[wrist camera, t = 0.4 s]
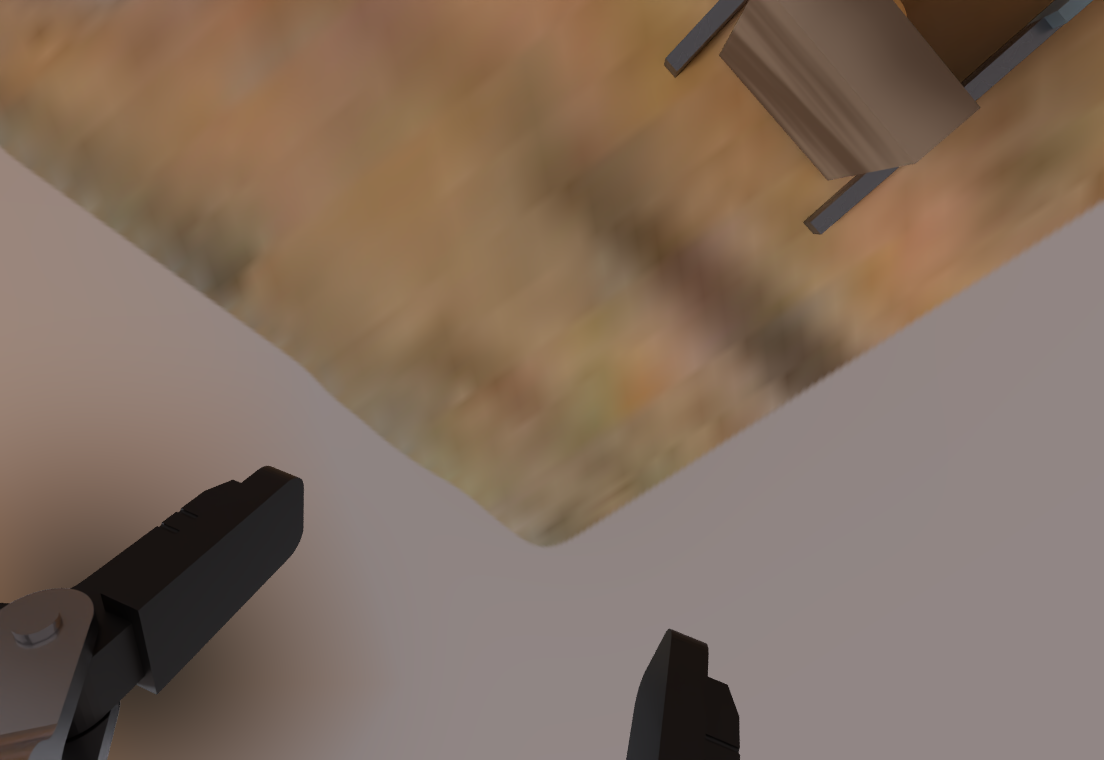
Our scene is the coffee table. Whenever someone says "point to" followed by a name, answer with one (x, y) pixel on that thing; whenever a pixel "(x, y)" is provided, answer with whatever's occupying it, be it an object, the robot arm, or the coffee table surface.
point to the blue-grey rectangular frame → (1061, 11)
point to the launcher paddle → (847, 81)
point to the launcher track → (866, 182)
